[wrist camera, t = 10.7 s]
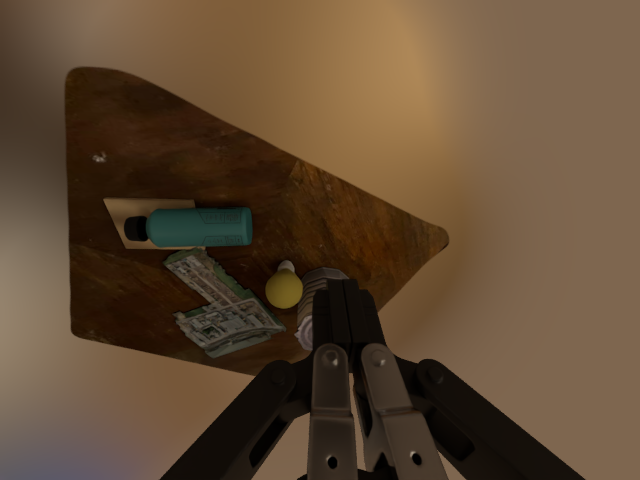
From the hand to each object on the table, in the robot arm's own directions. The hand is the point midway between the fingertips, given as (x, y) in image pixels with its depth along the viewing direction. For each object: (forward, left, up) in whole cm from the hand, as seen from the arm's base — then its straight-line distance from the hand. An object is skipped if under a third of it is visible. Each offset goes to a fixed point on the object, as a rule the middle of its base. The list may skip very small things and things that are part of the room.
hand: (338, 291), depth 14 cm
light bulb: (+25, -5, -31) cm, 40 cm away
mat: (+16, -27, -31) cm, 44 cm away
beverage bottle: (+14, -9, -28) cm, 32 cm away
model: (+37, -22, -31) cm, 53 cm away
